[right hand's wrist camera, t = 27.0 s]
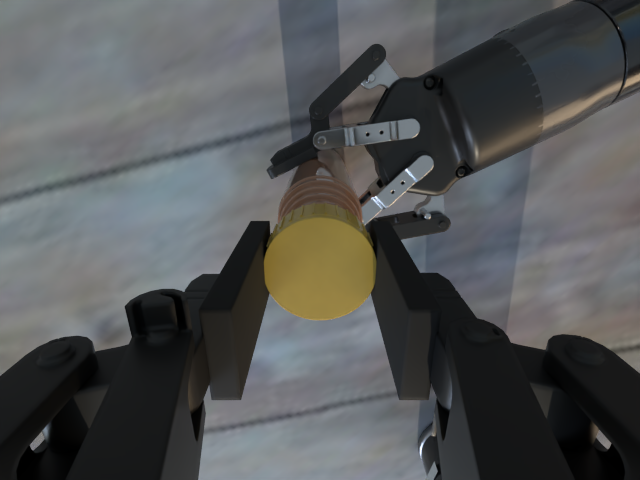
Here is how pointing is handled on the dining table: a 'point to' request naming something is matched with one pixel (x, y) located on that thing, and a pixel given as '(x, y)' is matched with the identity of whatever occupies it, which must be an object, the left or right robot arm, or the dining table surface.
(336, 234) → the cap
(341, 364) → the dining table surface
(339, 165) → the bottle
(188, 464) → the right robot arm
